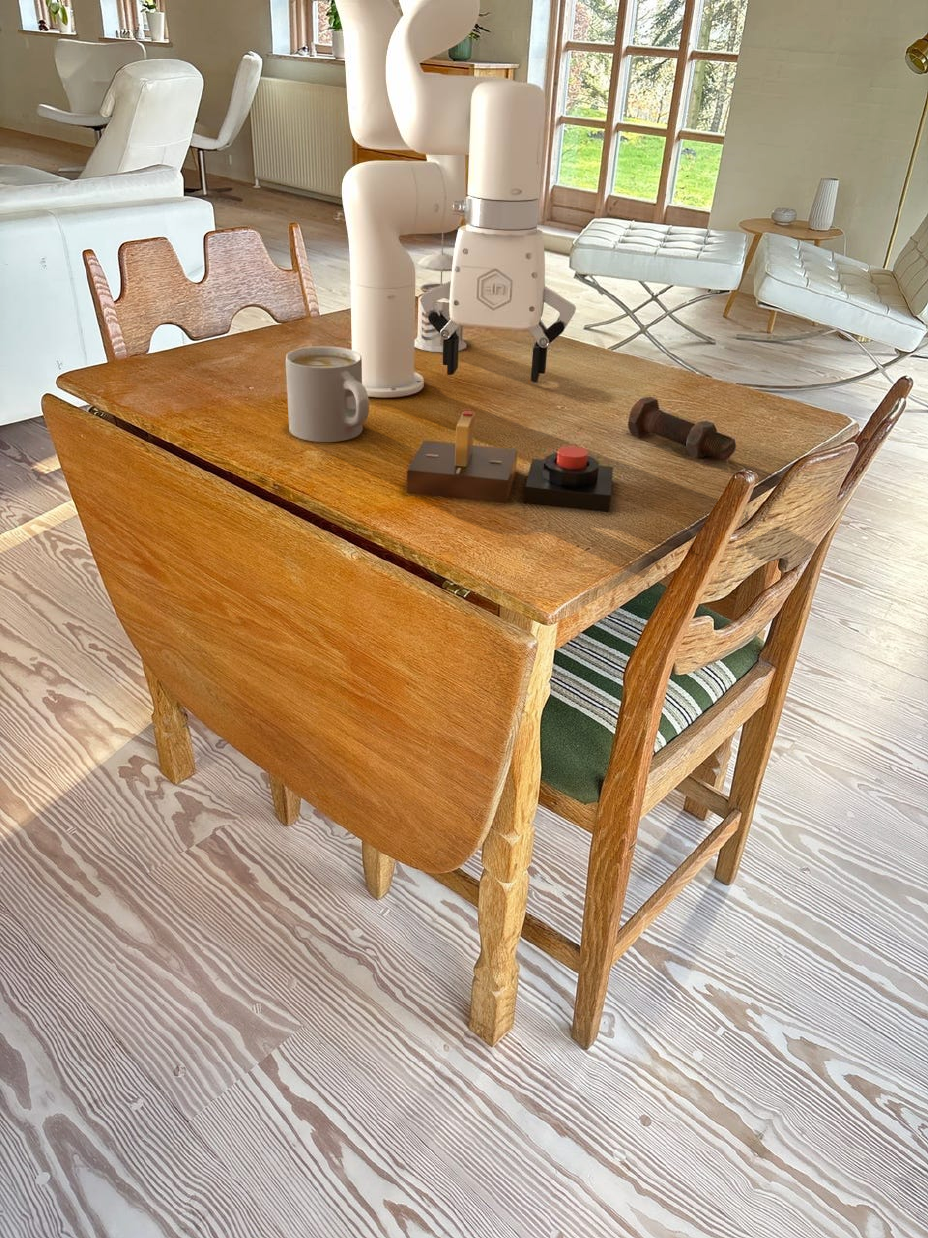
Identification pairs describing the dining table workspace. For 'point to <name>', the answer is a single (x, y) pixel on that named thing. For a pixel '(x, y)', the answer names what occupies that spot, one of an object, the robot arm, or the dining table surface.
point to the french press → (431, 336)
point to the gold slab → (464, 439)
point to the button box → (569, 485)
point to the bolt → (679, 430)
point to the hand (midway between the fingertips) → (493, 375)
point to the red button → (572, 457)
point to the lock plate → (462, 472)
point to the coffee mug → (325, 393)
